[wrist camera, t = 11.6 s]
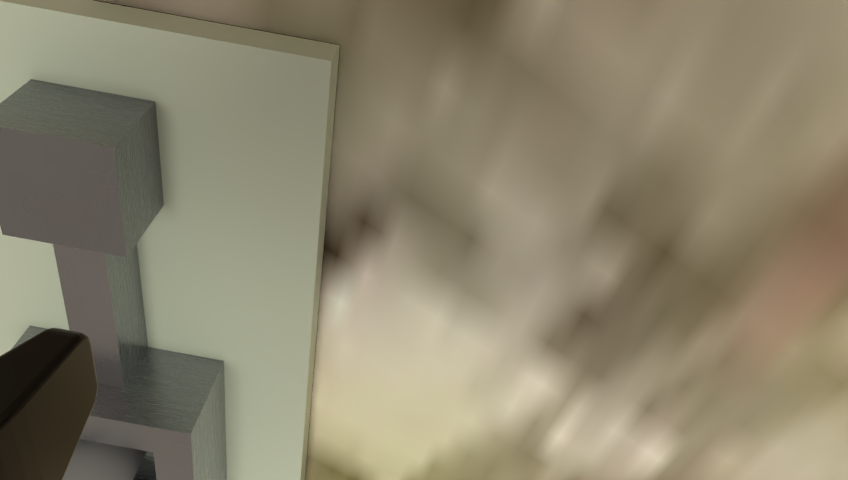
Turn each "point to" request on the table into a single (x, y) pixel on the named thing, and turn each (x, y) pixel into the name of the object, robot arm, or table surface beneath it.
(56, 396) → the robot arm
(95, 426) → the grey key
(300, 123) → the pale green rectangular panel
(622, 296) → the table surface
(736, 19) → the table surface
